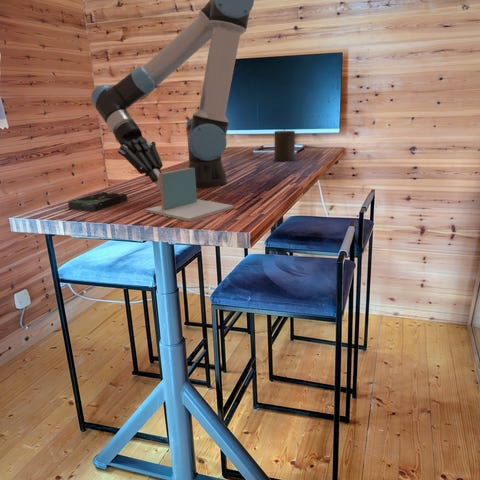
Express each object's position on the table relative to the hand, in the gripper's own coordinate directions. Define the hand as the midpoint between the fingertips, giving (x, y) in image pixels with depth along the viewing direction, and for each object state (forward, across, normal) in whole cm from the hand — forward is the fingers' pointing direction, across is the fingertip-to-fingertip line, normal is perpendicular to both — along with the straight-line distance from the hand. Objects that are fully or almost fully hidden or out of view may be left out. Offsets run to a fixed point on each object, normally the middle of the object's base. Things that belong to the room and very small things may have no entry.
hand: (164, 188), depth 130 cm
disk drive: (-9, +11, -17) cm, 22 cm away
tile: (+7, 0, +1) cm, 7 cm away
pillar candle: (-14, -95, -22) cm, 99 cm away
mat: (+11, 0, +4) cm, 11 cm away
